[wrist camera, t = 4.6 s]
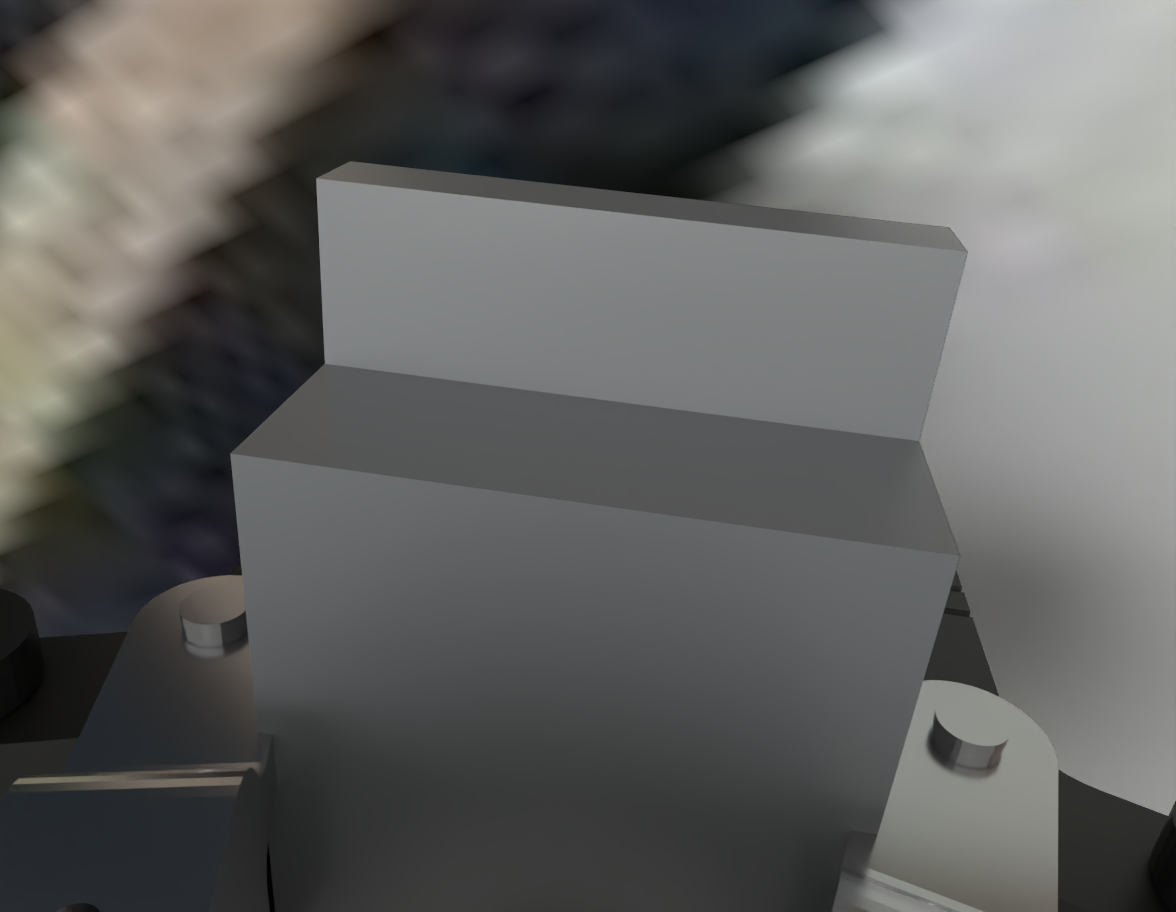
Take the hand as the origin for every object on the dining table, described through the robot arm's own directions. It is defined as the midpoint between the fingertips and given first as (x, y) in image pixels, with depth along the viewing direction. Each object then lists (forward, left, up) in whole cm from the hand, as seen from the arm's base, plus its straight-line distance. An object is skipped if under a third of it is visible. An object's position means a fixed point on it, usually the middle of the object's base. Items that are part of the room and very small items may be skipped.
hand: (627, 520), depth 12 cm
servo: (0, 0, -1) cm, 1 cm away
